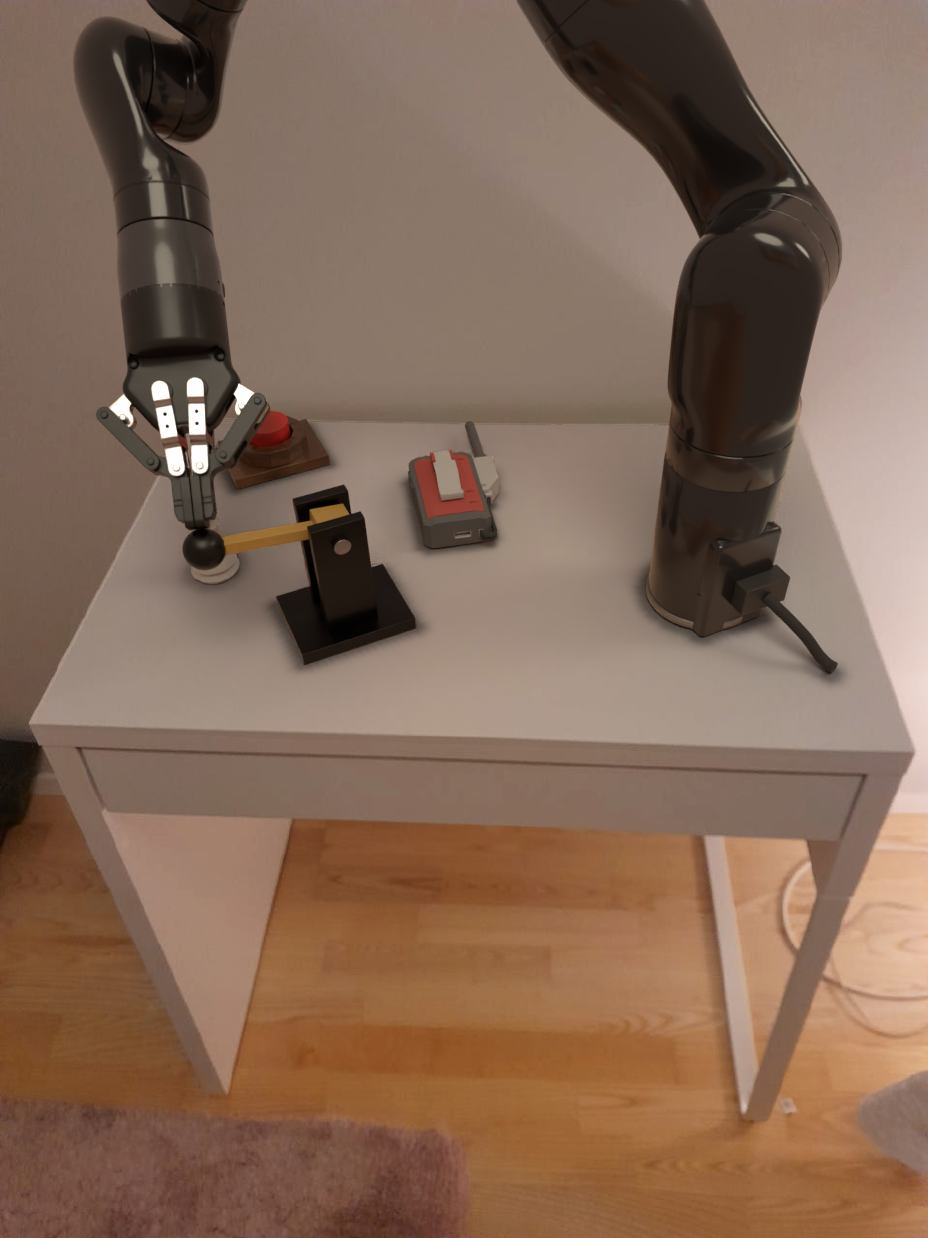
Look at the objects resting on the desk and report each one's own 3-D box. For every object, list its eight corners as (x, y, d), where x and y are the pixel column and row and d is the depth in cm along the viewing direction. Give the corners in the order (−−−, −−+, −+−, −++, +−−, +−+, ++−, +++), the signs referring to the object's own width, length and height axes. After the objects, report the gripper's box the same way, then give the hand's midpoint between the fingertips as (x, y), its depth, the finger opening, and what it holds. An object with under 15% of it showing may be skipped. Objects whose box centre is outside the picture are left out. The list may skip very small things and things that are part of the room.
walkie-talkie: (518, 546, 88) (478, 432, 102) (518, 508, 85) (478, 396, 99) (425, 559, 87) (398, 442, 101) (422, 521, 84) (395, 406, 98)
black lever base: (304, 665, 78) (280, 555, 70) (278, 606, 83) (252, 497, 75) (416, 628, 80) (405, 518, 72) (383, 573, 86) (370, 465, 78)
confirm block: (307, 427, 104) (303, 403, 102) (330, 464, 99) (326, 440, 97) (219, 450, 102) (213, 426, 99) (237, 489, 96) (231, 465, 94)
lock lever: (189, 582, 71) (184, 548, 69) (181, 558, 73) (176, 524, 71) (354, 550, 75) (354, 517, 73) (341, 528, 78) (341, 495, 75)
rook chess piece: (250, 570, 87) (232, 500, 81) (208, 593, 85) (187, 522, 79) (224, 548, 89) (205, 479, 84) (182, 570, 87) (160, 500, 82)
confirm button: (284, 421, 100) (281, 406, 99) (295, 441, 98) (293, 426, 96) (243, 431, 99) (240, 416, 98) (254, 452, 96) (251, 437, 95)
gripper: (65, 287, 66) (91, 531, 66) (254, 271, 67) (281, 511, 67) (98, 323, 74) (122, 543, 73) (268, 309, 75) (292, 525, 74)
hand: (198, 527), depth 70 cm, fingers closed
